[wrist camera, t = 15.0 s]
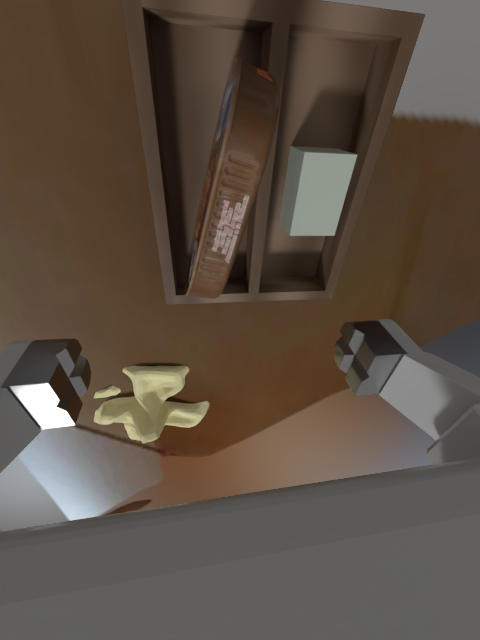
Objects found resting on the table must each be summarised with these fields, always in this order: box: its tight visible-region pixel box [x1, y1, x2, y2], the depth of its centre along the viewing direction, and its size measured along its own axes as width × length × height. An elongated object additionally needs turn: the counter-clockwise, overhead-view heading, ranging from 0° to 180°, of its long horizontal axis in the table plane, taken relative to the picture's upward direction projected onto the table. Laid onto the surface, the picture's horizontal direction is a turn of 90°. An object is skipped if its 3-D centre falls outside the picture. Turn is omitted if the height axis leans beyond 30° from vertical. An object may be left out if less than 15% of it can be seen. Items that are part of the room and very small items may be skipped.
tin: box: [185, 56, 280, 299], centre depth 19 cm, size 15×3×8 cm, turn 162°
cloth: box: [94, 366, 209, 443], centre depth 40 cm, size 22×19×6 cm
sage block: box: [279, 146, 357, 236], centre depth 22 cm, size 4×6×4 cm, turn 177°
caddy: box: [121, 0, 425, 304], centre depth 22 cm, size 17×20×4 cm
